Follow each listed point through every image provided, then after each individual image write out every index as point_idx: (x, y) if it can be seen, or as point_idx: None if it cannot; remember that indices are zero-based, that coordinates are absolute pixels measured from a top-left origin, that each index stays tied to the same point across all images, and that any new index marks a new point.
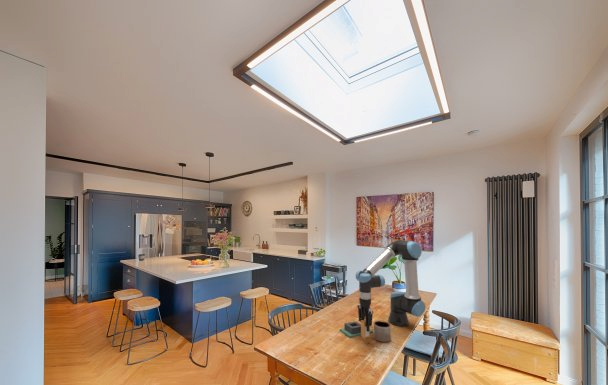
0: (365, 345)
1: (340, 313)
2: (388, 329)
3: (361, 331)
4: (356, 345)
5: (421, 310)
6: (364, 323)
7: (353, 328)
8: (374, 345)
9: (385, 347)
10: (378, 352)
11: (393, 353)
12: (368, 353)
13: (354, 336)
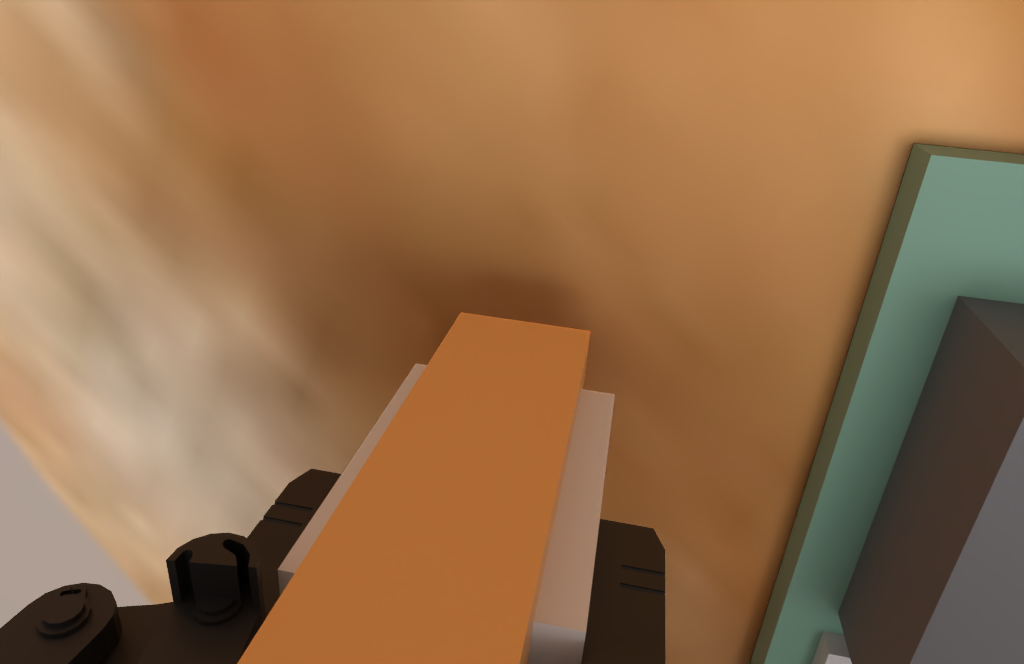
0: (400, 221)
1: None
2: None
3: (548, 396)
4: (490, 8)
5: None
6: (272, 639)
7: (1009, 429)
8: (331, 382)
9: (210, 481)
10: (84, 238)
11: (16, 429)
12: (84, 4)
13: (867, 308)
